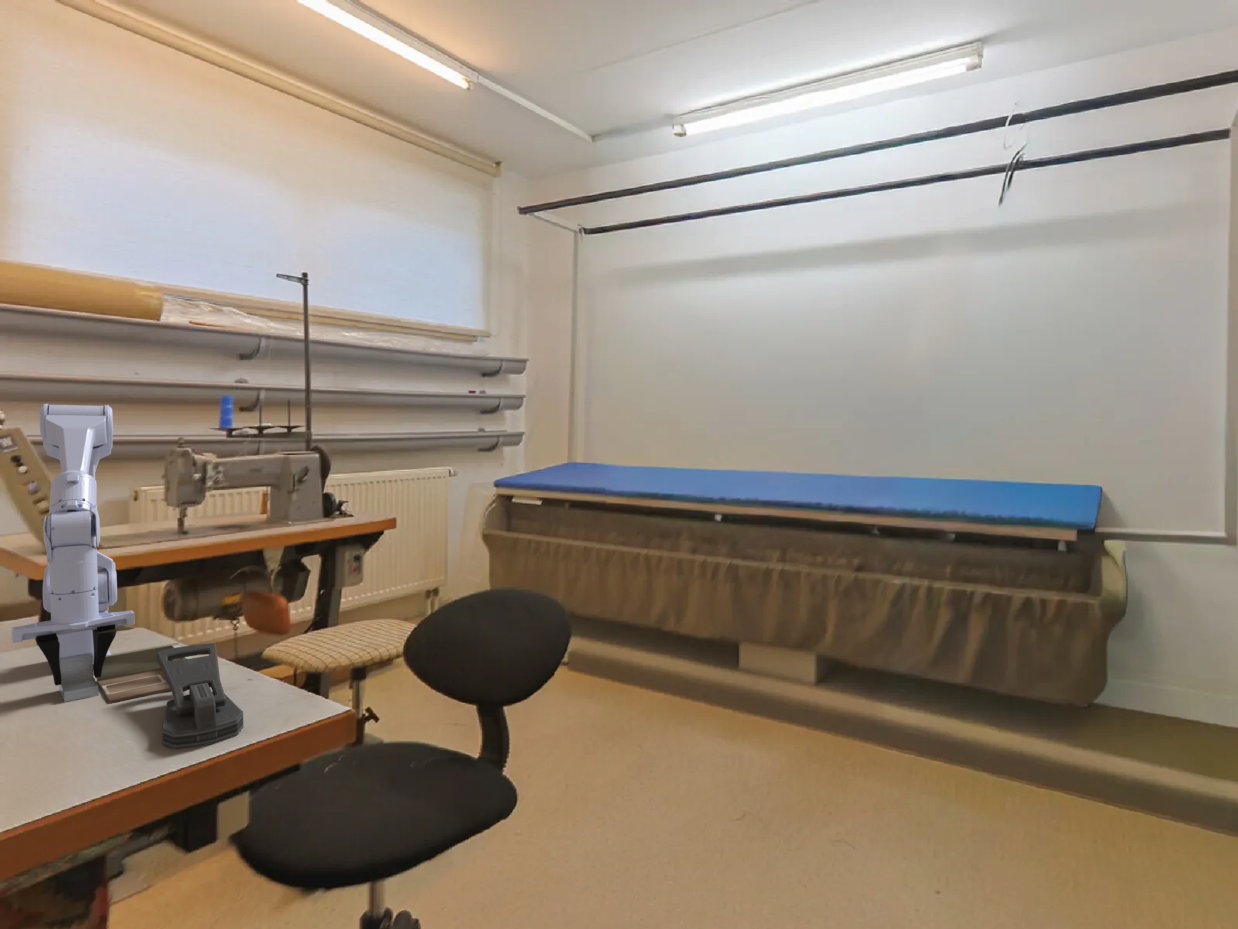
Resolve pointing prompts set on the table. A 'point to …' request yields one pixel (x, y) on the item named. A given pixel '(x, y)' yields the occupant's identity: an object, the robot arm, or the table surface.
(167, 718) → the zipper pull
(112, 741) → the table surface
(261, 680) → the table surface
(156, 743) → the table surface
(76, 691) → the angle bracket
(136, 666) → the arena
